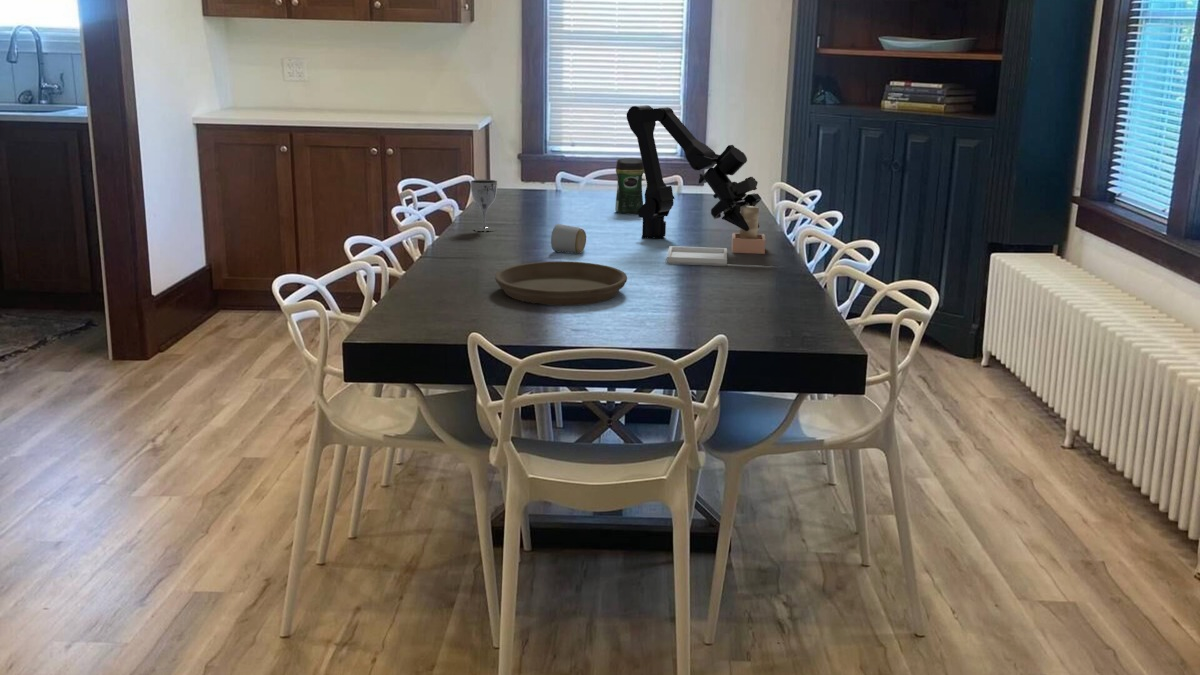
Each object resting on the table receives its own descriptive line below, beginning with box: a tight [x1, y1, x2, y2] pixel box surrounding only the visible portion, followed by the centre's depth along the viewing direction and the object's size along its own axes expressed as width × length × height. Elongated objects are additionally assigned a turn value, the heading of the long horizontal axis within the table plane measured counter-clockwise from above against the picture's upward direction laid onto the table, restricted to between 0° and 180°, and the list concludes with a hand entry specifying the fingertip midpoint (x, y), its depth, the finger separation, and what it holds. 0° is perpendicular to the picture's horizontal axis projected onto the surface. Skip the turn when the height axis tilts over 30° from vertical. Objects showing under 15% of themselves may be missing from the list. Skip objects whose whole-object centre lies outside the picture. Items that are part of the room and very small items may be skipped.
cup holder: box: [731, 232, 766, 255], centre depth 313 cm, size 9×9×4 cm
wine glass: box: [470, 179, 498, 229], centre depth 338 cm, size 8×8×15 cm
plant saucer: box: [494, 260, 628, 306], centre depth 260 cm, size 31×31×5 cm
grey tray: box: [666, 245, 728, 267], centre depth 302 cm, size 16×16×2 cm
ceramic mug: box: [550, 223, 587, 254], centre depth 309 cm, size 11×8×8 cm
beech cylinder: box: [739, 205, 760, 239], centre depth 311 cm, size 5×5×12 cm
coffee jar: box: [615, 157, 645, 215], centre depth 376 cm, size 10×8×19 cm
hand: (753, 229), depth 311 cm, fingers closed on beech cylinder, 5 cm apart
